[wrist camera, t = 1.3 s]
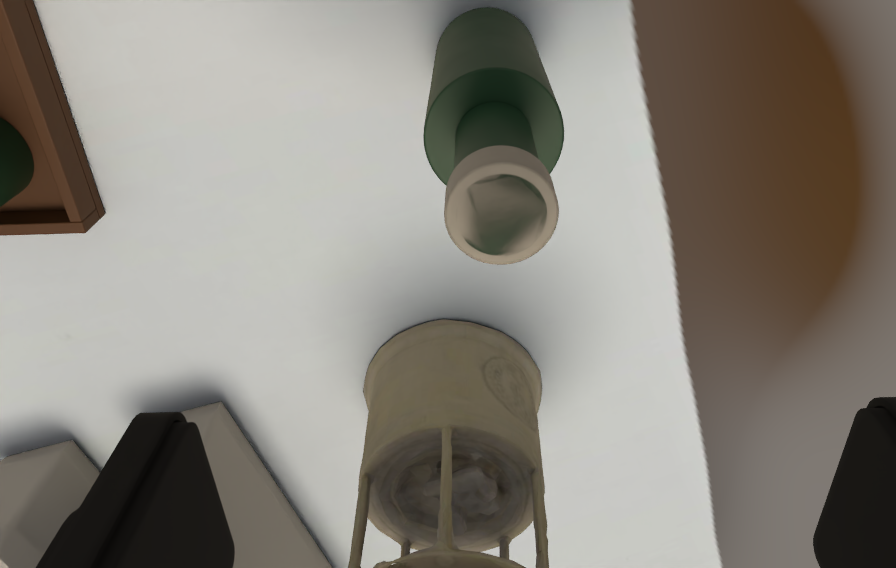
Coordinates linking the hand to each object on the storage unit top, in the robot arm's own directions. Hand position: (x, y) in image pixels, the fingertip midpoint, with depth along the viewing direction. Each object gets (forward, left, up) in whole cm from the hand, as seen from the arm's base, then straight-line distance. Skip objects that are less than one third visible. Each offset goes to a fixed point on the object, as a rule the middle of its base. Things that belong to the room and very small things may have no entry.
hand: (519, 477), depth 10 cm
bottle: (0, 0, -24) cm, 24 cm away
